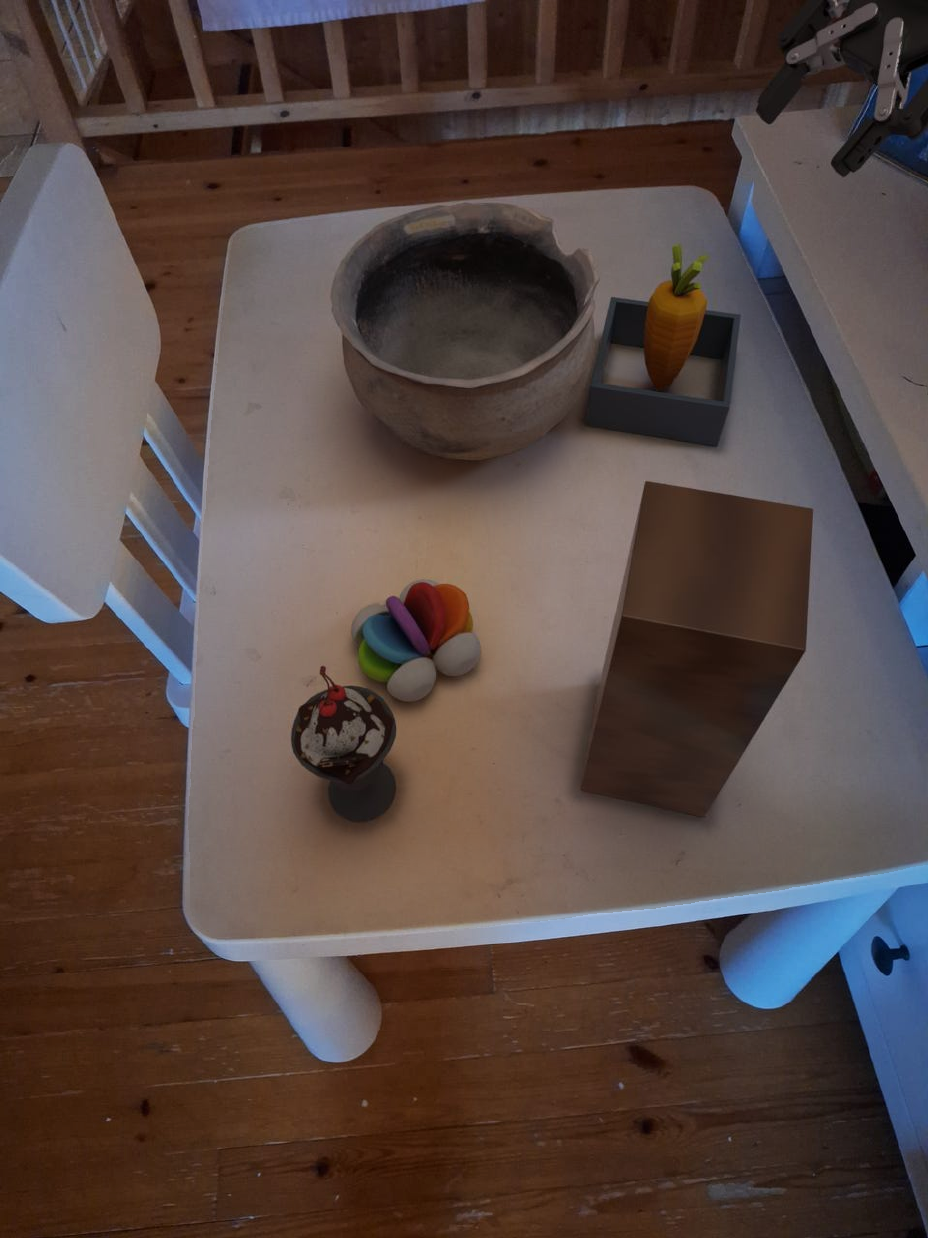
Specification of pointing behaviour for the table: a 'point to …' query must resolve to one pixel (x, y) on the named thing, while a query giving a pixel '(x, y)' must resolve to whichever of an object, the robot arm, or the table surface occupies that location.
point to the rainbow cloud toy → (416, 638)
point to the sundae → (348, 748)
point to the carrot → (673, 321)
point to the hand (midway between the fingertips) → (798, 143)
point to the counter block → (697, 644)
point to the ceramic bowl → (466, 327)
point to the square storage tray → (661, 409)
